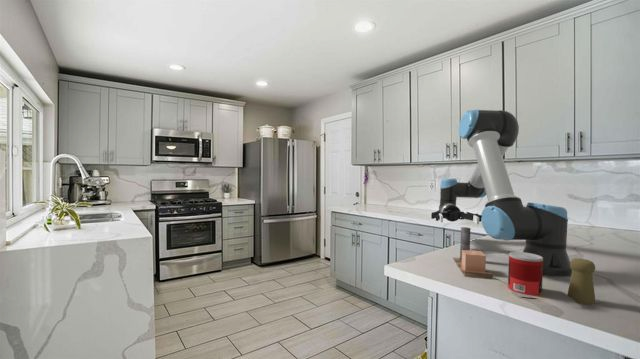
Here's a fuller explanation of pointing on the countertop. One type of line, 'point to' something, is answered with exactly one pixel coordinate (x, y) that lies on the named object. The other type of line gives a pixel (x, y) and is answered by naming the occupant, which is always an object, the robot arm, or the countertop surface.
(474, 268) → the terracotta block
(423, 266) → the countertop surface
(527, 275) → the canned food
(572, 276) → the cork
